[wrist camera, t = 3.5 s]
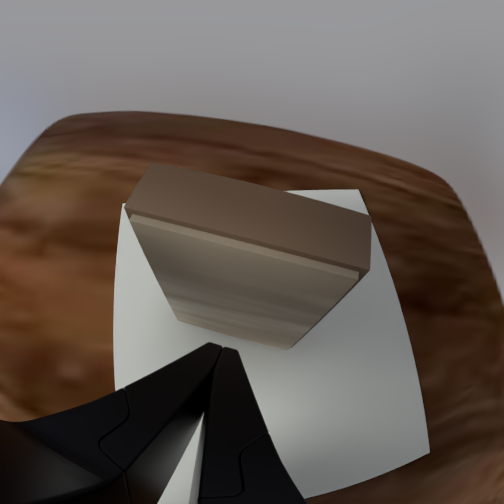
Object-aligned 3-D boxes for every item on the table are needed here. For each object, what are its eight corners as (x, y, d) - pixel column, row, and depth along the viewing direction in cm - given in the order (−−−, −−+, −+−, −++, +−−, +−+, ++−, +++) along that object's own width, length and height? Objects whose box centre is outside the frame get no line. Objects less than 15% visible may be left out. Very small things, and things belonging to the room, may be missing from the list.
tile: (290, 351, 14) (369, 278, 6) (174, 320, 14) (120, 213, 7) (297, 318, 15) (371, 215, 7) (185, 288, 15) (151, 162, 8)
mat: (423, 451, 12) (429, 452, 11) (136, 507, 10) (133, 510, 9) (355, 195, 20) (358, 189, 20) (125, 209, 18) (122, 203, 18)
